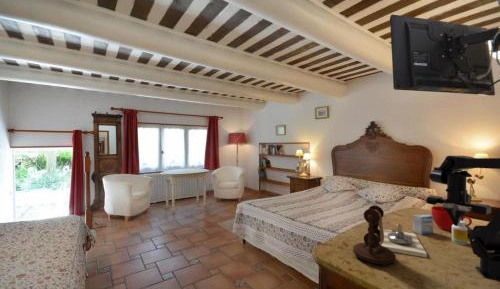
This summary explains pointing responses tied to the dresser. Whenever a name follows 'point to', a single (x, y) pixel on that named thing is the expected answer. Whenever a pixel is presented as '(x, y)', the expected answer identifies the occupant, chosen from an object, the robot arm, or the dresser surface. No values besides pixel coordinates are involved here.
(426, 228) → the medicine box
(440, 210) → the ceramic cup
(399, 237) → the cam lever
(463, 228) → the supplement bottle
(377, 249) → the brown tall stacked figurine
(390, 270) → the dresser surface
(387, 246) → the ash stand
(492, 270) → the robot arm
